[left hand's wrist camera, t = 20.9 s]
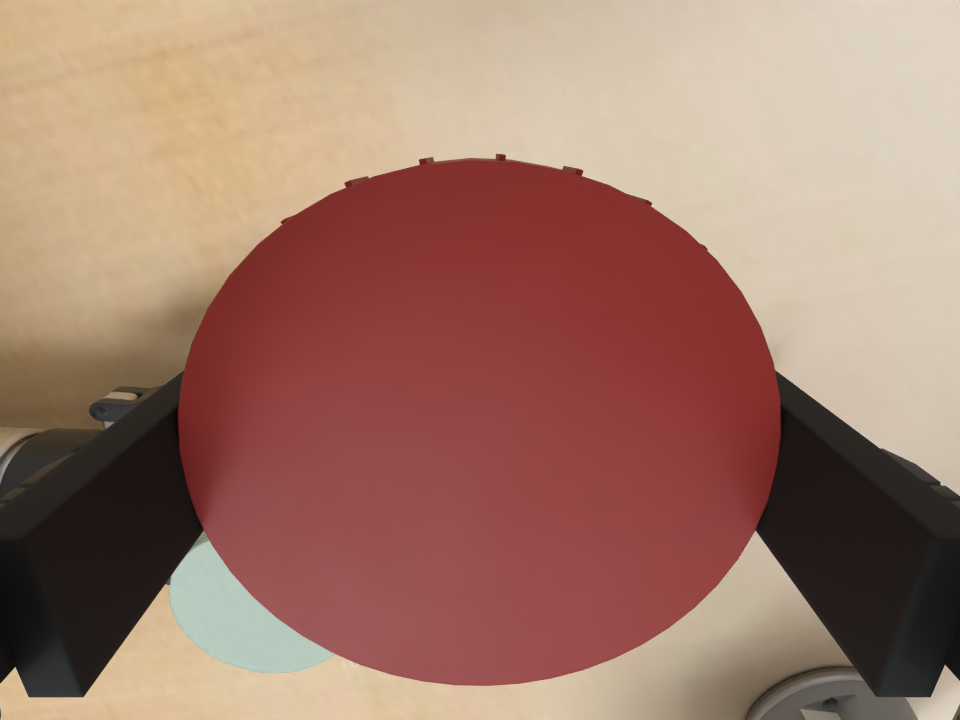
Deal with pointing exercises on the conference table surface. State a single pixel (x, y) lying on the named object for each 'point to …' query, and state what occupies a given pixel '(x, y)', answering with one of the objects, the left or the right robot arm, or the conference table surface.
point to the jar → (234, 618)
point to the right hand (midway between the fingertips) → (379, 497)
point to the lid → (479, 422)
